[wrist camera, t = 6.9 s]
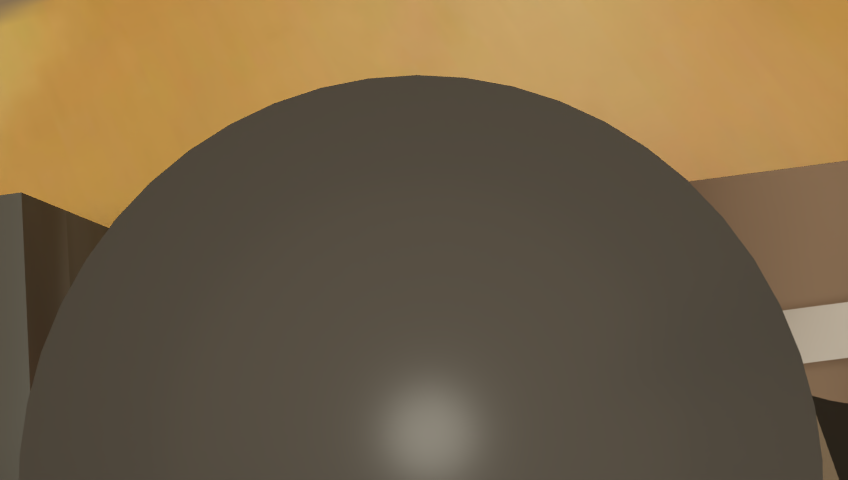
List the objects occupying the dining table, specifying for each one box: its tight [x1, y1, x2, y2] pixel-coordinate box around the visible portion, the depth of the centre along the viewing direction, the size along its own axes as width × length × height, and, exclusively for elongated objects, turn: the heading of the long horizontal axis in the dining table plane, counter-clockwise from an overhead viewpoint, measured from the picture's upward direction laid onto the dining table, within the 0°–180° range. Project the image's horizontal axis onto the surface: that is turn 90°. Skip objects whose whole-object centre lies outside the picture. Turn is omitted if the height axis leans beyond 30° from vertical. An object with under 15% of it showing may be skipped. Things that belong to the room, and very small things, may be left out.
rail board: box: [0, 161, 848, 480], centre depth 16 cm, size 30×8×8 cm, turn 97°
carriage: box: [19, 75, 823, 480], centre depth 10 cm, size 6×7×14 cm
